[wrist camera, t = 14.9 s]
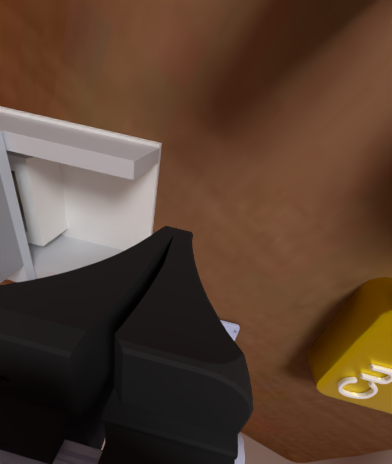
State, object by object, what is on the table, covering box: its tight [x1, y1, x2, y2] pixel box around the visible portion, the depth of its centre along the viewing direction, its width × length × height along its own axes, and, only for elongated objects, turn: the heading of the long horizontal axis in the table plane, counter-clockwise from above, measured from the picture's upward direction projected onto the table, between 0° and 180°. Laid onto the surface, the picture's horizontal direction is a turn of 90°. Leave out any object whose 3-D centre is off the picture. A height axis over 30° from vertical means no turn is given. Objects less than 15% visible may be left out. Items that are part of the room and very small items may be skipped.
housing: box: [0, 106, 162, 279], centre depth 20 cm, size 13×18×6 cm
